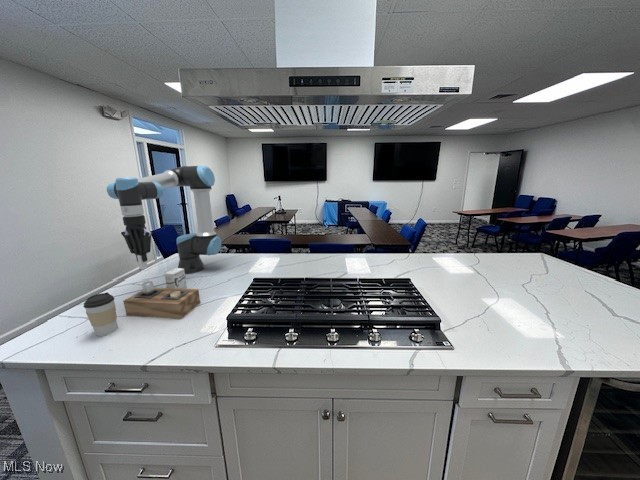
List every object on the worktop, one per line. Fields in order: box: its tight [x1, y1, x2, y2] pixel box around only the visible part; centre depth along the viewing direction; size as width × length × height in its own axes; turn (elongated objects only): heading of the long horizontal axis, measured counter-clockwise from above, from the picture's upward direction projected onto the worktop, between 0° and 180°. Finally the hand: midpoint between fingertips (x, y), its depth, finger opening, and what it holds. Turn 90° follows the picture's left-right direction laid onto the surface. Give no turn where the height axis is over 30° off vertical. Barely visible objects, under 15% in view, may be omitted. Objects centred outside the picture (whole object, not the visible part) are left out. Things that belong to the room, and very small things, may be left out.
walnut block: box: [122, 286, 201, 319], centre depth 113 cm, size 14×26×7 cm, turn 83°
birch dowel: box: [170, 291, 181, 297], centre depth 112 cm, size 4×4×7 cm
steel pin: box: [141, 281, 155, 296], centre depth 113 cm, size 4×4×7 cm
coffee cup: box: [83, 292, 119, 337], centre depth 97 cm, size 9×9×15 cm
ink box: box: [163, 267, 188, 289], centre depth 130 cm, size 9×5×12 cm, turn 168°
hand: (143, 268), depth 110 cm, fingers closed
